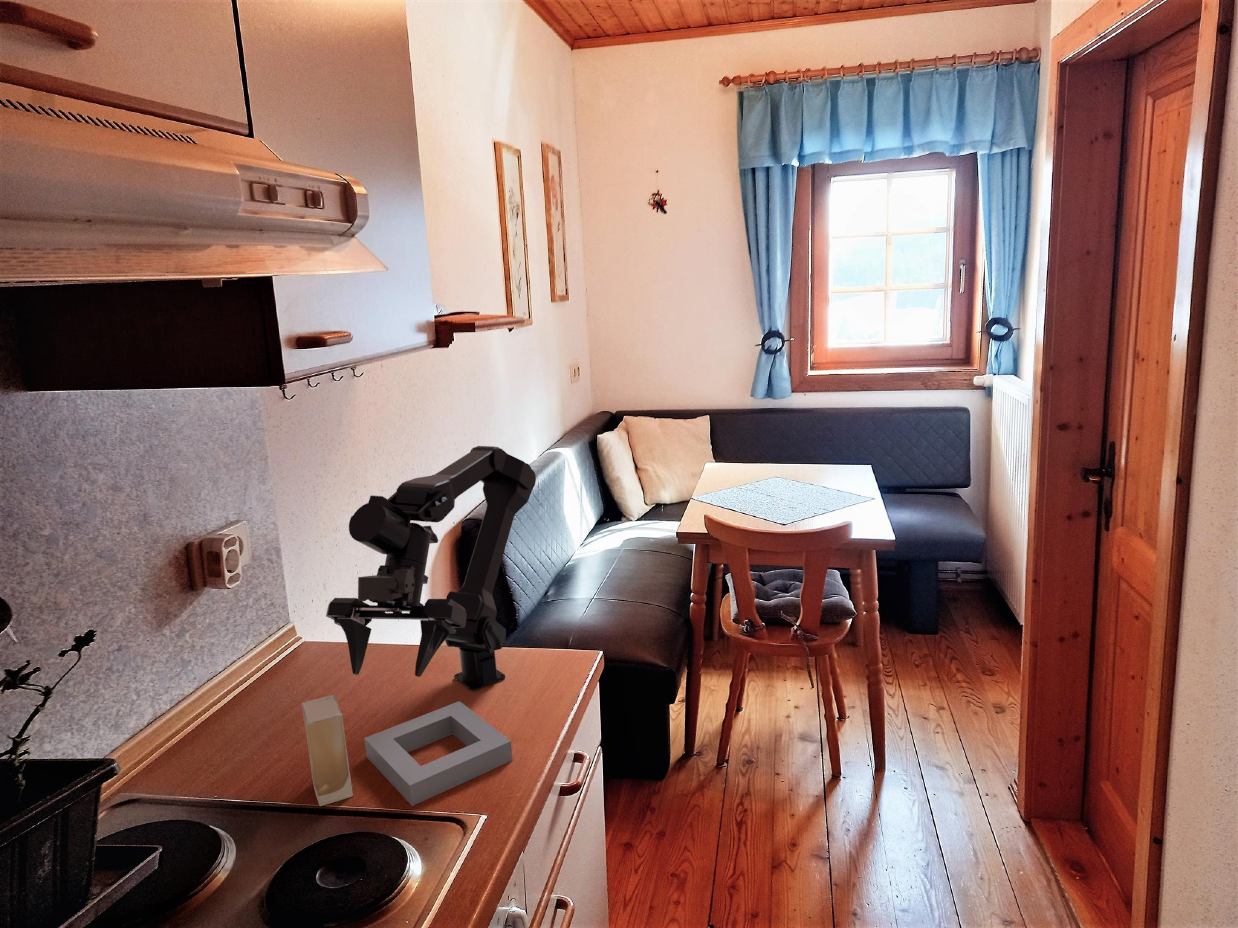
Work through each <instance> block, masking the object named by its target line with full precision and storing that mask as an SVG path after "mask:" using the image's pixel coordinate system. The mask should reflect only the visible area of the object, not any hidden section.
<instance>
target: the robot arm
mask: <svg viewBox="0 0 1238 928" xmlns="http://www.w3.org/2000/svg"><path fill="white" fill-rule="evenodd" d="M536 478H537V476H536V472H535V471H534V469H533V468H532V467H531V465H530V464H529V463H527V462H525V461H524V460H521V459H519V458H518V457H515V456H514V455H511V454H509V453H507V452H506V451H505V450H504V449H503V448H502V447H501V448H500V447H499V446H491V445H488V446H487V445H477V446H474V447H472V448H471V449H470V452H468V453H466V454H465V455H463V456H461V457H460V458H459V459H457V460H455V461H454V462H452V463H450V464H449V465H447V466H446V467H444V468H443V469H441V470H439V471H438V472H436V473H435V474H432V475H426V476H420V477H415V478H411V479H410V480H406V481H403V482H402V483H400V484H399V485H398V486H397V488H396V490H395V492H394V493H393V494H392V495H391V496H389V498H386V497H385V496H383V495H373V494H372V495H370V496H369V500H368V502H366V503H365V504H363V505H361V506H359V507H358V508H357V510H356V511H355V512H354V513H353V514H352V515H351V517H350V519H349V523H348V532H349V535H350V536H351V538H352V539H353V540H354V541H356V542H358V543H360V544H361V545H363V546H366V547H367V548H370V549H372V550H373V551H375V552H378V554H379V553H380V554H382V555H386V556H385V562H384V565H381V564H380V565H379V567H378V569H377V573H376V574H375V575H366V576H358V577H357V580H358V581H357V597H334V598H333V599H331V601H329V603H328V605H327V609H326V614H325V617H327V618H329V619H331V620H333V622H334V624H335V625H337V626H339V627H341V629H342V630H343V633H344V635H345V638H346V643H347V647H348V654H349V660H350V665H351V671H352V674H353V675H356V676H359V674H360V672H361V669H362V667H363V664H364V660H365V656H366V653H367V648H368V644H369V640H370V636H371V634H372V633H371V632H372V628H370V627H369V626H368V625H369V624H370V623H371V622H372V621H373V620H419V621H420V630H421V635H420V641H419V645H418V650H417V651H418V652H417V657H416V661H415V666H414V667H415V668H414V669H415V671H414V676H415V677H417V678H420V677H421V676H422V675H423V674H424V672H425V671H426V669H427V667H428V665H429V664H430V663H431V661H432V659H433V657H434V656H435V654H436V652H437V651H438V650H439V649H440V647H441V646H442V644H444V642H445V643H446V646H447V647H449V648H458V650H459V658H460V668H461V671H460V672H458V673H455V674H454V675H453V678H454V680H456V681H458V682H459V683H460V684H462V685H463V686H464V687H466V688H467V689H469V690H470V691H476V690H478V689H482V688H484V687H486V686H489V685H491V684H494V683H496V682H500V681H501V680H504V679H506V674H505V673H503V672H502V671H500V670H498V669H497V659H496V651H497V650H501V649H503V644H504V643H505V642H506V637H507V629H506V628H505V627H504V626H503V625H502V624H500V623H499V622H498V621H497V620H496V618H497V613H498V611H497V607H496V603H495V599H494V596H493V593H494V592H493V591H494V589H495V585H496V581H497V578H498V575H499V572H500V567H501V564H502V560H503V557H504V552H505V549H506V547H507V543H508V540H509V536H510V532H511V530H512V526H513V522H514V518H515V516H516V514H517V513H518V512H520V510H521V509H522V508H523V507H524V506H526V504H527V503H528V502H529V500H530V497H531V494H532V492H533V489H534V488H535V485H536V480H537V479H536ZM479 482H481V483H482V484H483V486H482V491H483V492H482V493H483V496H484V499H485V503H486V508H485V513H484V515H483V519H482V521H481V525H480V528H479V532H478V534H477V535H478V536H477V539H476V541H475V545H474V549H473V552H472V555H471V558H470V562H469V565H468V569H467V572H466V575H465V579H464V582H463V584H462V586H461V587H459V588H458V590H457V591H449V592H448V593H447V595H446V598H428V599H427V600H426V602H424V604H423V603H422V602H421V599H422V594H423V593H422V592H423V586H424V585H427V584H428V581H429V576H428V575H426V574H425V573H426V568H427V563H428V556H429V552H430V551H429V549H430V545H431V544H437V543H438V542H439V539H438V536H437V534H436V533H435V532H434V530H433V527H432V526H431V525H420V524H419V523H416V522H426V523H428V522H429V523H440V522H442V521H443V520H445V518H446V517H447V516H448V515H449V514H450V513H451V511H453V510H454V508H455V504H456V503H455V502H456V501H455V500H456V499H457V498H458V497H459V496H461V495H462V494H463V493H465V492H466V491H468V490H470V489H471V488H472V487H474V486H475V485H477V484H478V483H479ZM411 521H414V522H411ZM367 600H368V601H369V602H371V603H375V604H376V605H374V604H373V605H372V604H368V603H367V602H366V601H367Z"/></svg>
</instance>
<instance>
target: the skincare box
mask: <svg viewBox="0 0 1238 928" xmlns="http://www.w3.org/2000/svg"><path fill="white" fill-rule="evenodd" d="M301 709H302V715H303V720H304V728H305V735H306V742H307V748H308V749H307V750H308V756H309V763H310V764H309V765H310V769H311V778H312V784H313V788H314V789H313V790H314V794H315V797H316V800H317V802H318V806H320V807H322V806H326V805H329V804H331V803H336V802H340V801H343V800H345V799H349V798H351V797H353V788H352V787H353V786H352V780H351V773H350V765H349V758H348V750H347V749H348V748H347V743H346V741H347V740H346V736H345V735H346V734H345V728H344V719H343V714H342V711H341V709H340V705H339V703H338V700H337V698H336V696H335V694H330V695H326V696H323V697H319V698H315V699H312V700H311V699H310V700H307V701H304V702H301Z"/></svg>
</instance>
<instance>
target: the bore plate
mask: <svg viewBox="0 0 1238 928" xmlns="http://www.w3.org/2000/svg"><path fill="white" fill-rule="evenodd" d="M451 735H454V737H455V738H457V739H458V740H459V741H460V742H462V744H464V745H465V747H462V748H461V749H458V750H455V751H453V752H451V753H449V754H447V755H444V756H441V757H440V758H437V759H435V760H432V761H430V762H427V763H425V764H423V765H421V764H420V763H419V762H418V761H416V760H415V759H414V757H412V756H411V754H409V753H410V752H413V751H415V750H417V749H420V748H423V747H425V746H427V745H430V744H432V743H434V742H437V741H439V740H442V739H445V738H447V737H449V736H451ZM363 739H364V745H365V746H364V749H365V753H366V758H367V759H368V761H370V762H371V764H373V766H374V767H376V769H377V770H378V771H379V772H380V773H381V774H382V775H383V776H384V778H385V779H387V781H388V782H389V783H390V784H391V785H392V786H393V787H394V789H396V791H397V792H399V794H400V795H401V796H402V797H403V798H404V799H405V800H406V802H407V803H409V804H410V806H411V807H414V806H416V805H418V804H420V803H423V802H425V801H427V800H428V799H431V798H434V797H435V796H438V795H439V794H442V793H445V792H447V791H449V790H450V789H453V788H456V787H457V786H460V785H462V784H464V783H466V782H469V781H471V780H472V779H475V778H477V777H480V776H481V775H484V774H486V773H488V772H491V771H493V770H495V769H496V768H499V767H501V766H503V765H505V764H508V763H510V762H512V761H513V760H514V759H513V749H512V740H510V739H509V738H508V737H506V736H505V735H504V734H502V733H501V732H500V731H498V729H496V728H495V727H494V726H492V725H491V724H490V723H488V722H487V721H486V720H484V718H482V717H481V716H479V714H477V713H476V712H474V711H473V710H472V709H471V708H469V707H468V706H467V705H465V704H464V703H463V702H461V701H455V702H453V703H451V704H448V705H446V706H443V707H441V708H438V709H435V710H434V711H431V712H428V713H425V714H423V715H420V716H417V717H415V718H412V719H409V720H407V721H405V722H401V723H400V724H397V725H395V726H392V727H390V728H387V729H385V730H382V731H379V732H376V733H374V734H371V735H368V736H366V737H364V738H363Z"/></svg>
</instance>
